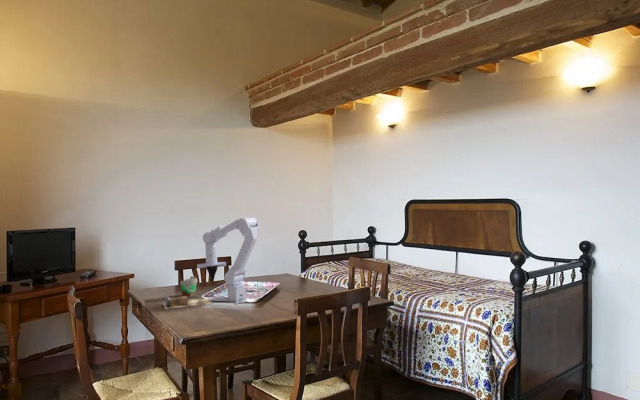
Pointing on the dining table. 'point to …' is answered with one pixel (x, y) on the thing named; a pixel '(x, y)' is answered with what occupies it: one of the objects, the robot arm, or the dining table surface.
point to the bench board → (193, 303)
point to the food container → (188, 286)
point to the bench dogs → (167, 302)
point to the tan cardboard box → (178, 301)
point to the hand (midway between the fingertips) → (212, 280)
